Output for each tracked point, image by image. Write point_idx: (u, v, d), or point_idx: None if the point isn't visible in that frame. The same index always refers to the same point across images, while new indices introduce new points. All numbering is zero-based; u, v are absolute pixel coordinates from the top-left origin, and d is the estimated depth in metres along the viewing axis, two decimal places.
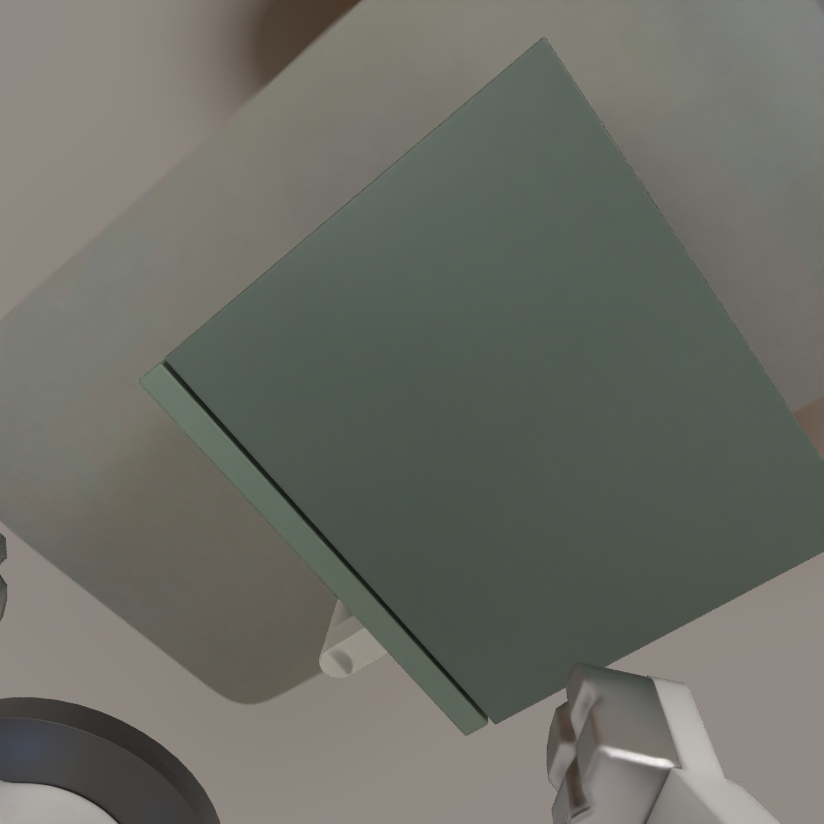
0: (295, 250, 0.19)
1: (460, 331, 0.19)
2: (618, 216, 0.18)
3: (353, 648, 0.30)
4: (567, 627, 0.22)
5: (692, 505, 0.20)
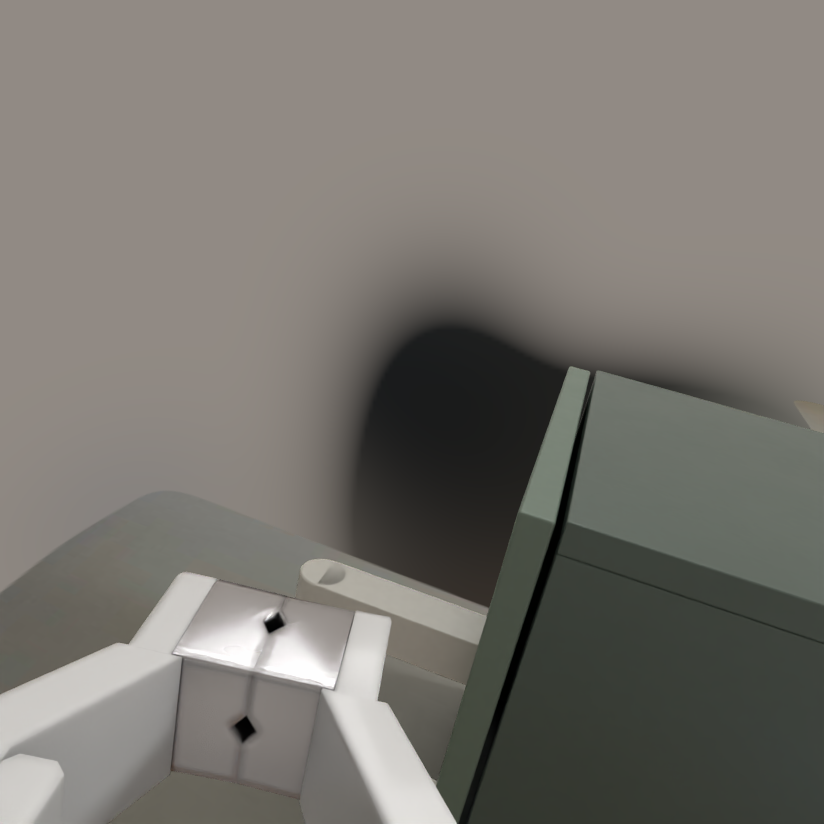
0: (708, 401, 0.31)
1: (776, 449, 0.27)
2: None
3: (358, 579, 0.23)
4: (725, 539, 0.19)
5: None
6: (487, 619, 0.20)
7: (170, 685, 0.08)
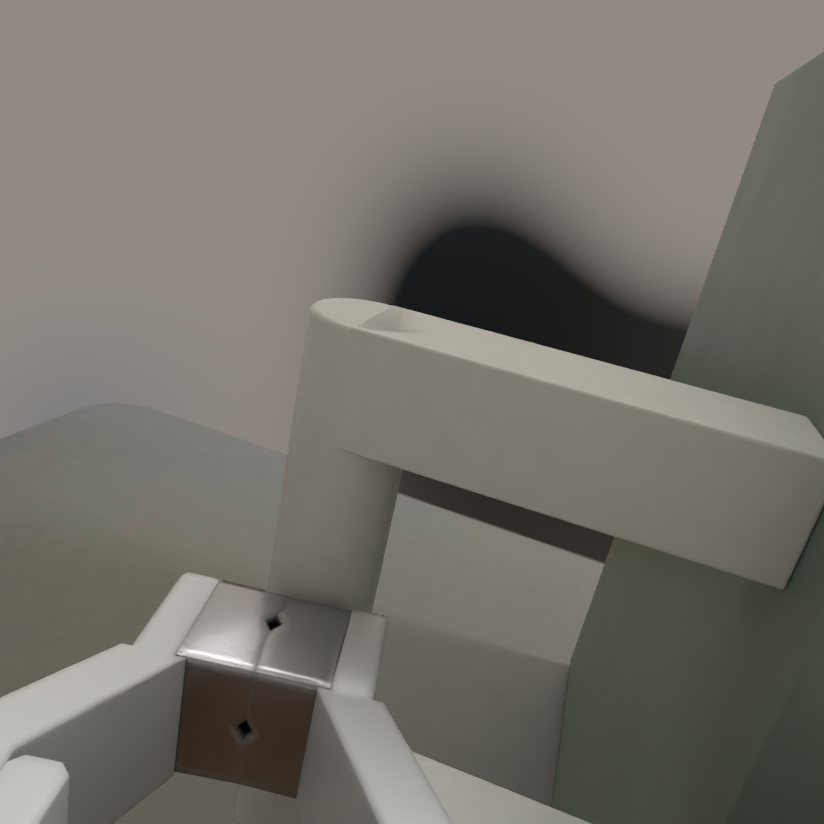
0: None
1: None
2: None
3: (460, 333, 0.09)
4: None
5: None
6: None
7: (174, 686, 0.08)
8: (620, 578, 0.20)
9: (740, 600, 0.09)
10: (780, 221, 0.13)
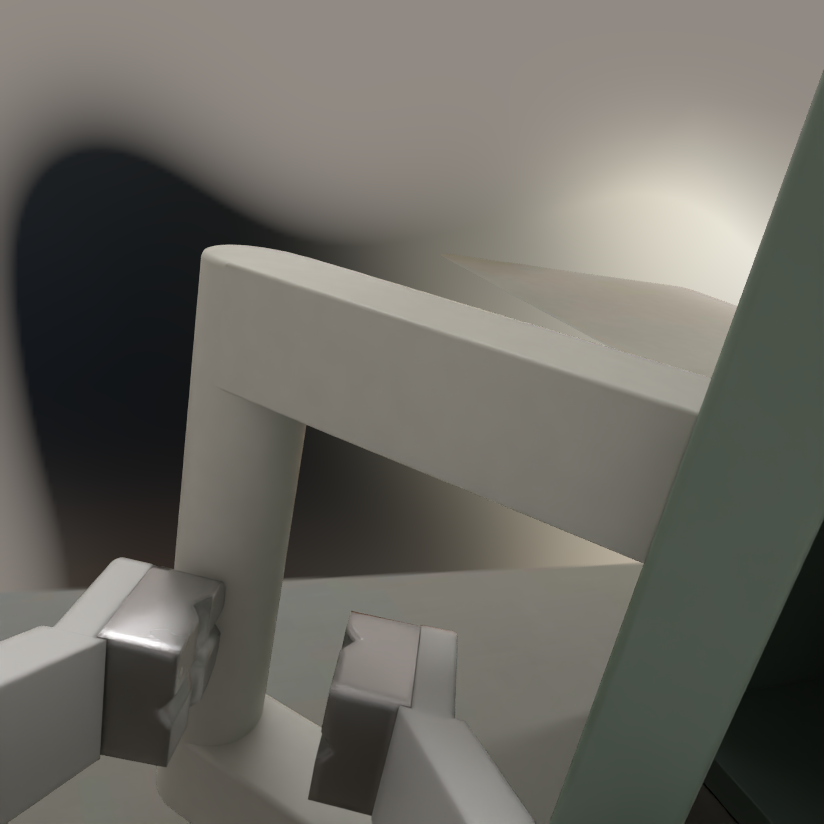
0: None
1: None
2: None
3: (351, 279, 0.09)
4: None
5: None
6: (784, 196, 0.05)
7: (94, 668, 0.08)
8: None
9: None
10: None
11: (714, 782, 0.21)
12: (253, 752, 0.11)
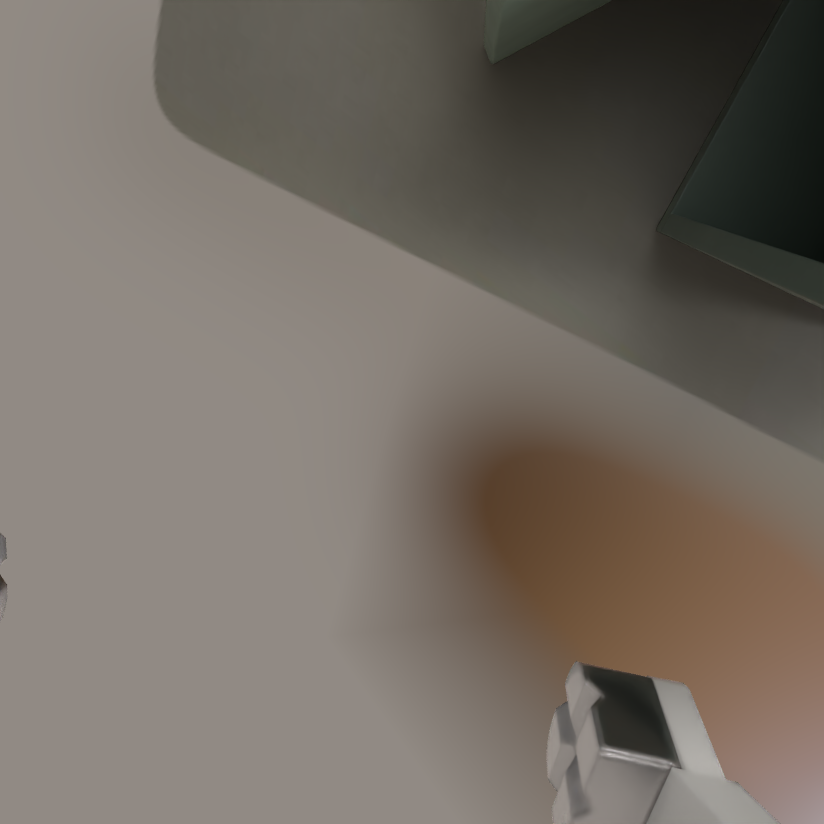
0: None
1: None
2: None
3: None
4: None
5: None
6: None
7: None
8: None
9: None
10: None
11: None
12: None
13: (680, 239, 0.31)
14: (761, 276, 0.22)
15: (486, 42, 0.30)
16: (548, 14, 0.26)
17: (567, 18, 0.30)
